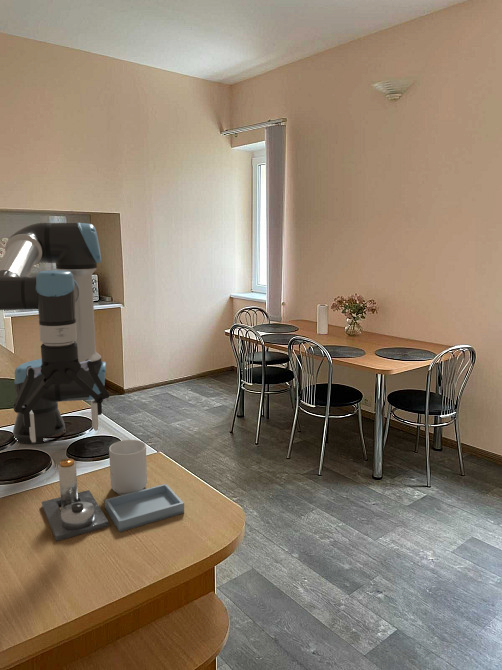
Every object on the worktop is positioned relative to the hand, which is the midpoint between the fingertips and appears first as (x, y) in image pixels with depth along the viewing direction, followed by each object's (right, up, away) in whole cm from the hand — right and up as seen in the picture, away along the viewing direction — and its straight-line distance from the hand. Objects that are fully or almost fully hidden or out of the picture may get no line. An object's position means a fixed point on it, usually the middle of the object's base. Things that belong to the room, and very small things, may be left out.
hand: (65, 434), depth 119 cm
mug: (+11, -16, +15) cm, 25 cm away
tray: (+17, -18, +3) cm, 25 cm away
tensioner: (+2, -19, +1) cm, 19 cm away
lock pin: (0, -18, +4) cm, 18 cm away
